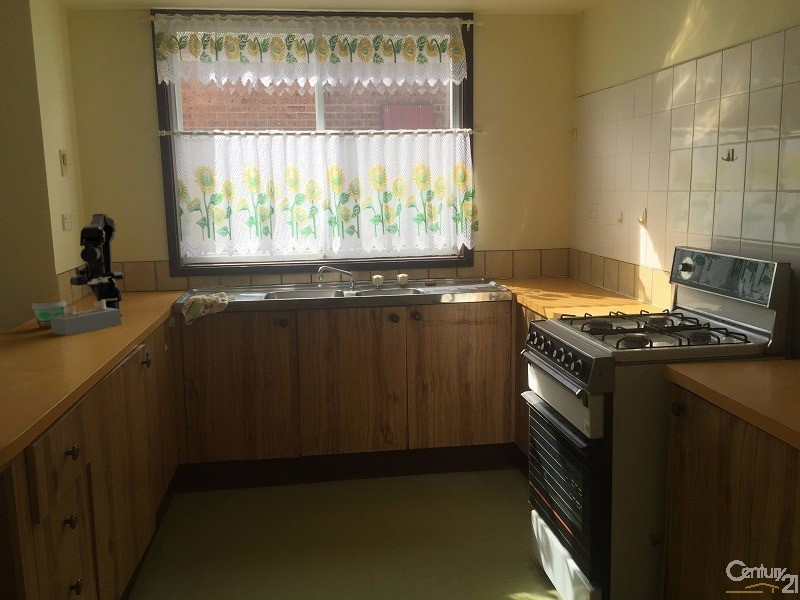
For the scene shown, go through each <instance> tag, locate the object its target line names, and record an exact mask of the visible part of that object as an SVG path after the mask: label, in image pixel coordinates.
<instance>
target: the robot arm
mask: <svg viewBox="0 0 800 600" xmlns="http://www.w3.org/2000/svg"><path fill="white" fill-rule="evenodd" d="M116 232H117V226H116V223H115V220H114V219H113V218H111V217H109V216H108V214H107V213H106V214H105V213H95V214H92V218H91V221H90V223H89V225H84V226H83V227H82V228H81V230H80V236H79V237H80V239H79V240H80V241H79V246H80V247H84V248H83V249H82V250H81V252H80V258H81V260H82V261H83V262H85V263H84V265H85V267H82V266H77V267H75V268H74V270H75V271H74V272H75V276H72V277H71V278H70V279H69V283H70V286H83V285H84V286H85V285H86V286H88V287H90V289H91V290H92V292H93V294H94V296H95V298H96V301H101V300H105V303H106V307H107V308H114V309H120V302H123V297H122V296H123V295H122V292H121V290H120V288H119V286H118V283H117V282H116V281H119V280H124V274H123V272H122V271H113V259H112V257H113V256H112V255H113V254H112V242H113V240H114V239H115V233H116ZM115 280H116V281H115ZM120 315H121V317H122V316H123V314H121V313H120Z"/></svg>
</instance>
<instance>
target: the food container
mask: <svg viewBox="0 0 800 600" xmlns="http://www.w3.org/2000/svg"><path fill="white" fill-rule="evenodd" d="M64 306H68V305H67V301H66V299H64V300H62V301H56V302H55V301H54V302H45V303H34V302H32V304H31V309H33V311H34V316H35V319H36V323H37V328H38V330H52V328H51V319H50V317H53V316H59V315H64V308H63V307H64Z"/></svg>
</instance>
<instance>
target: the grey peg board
mask: <svg viewBox="0 0 800 600" xmlns="http://www.w3.org/2000/svg"><path fill="white" fill-rule="evenodd" d="M120 314H121V309H120V308H119V309H114V308H107V307H106V311H101V312H95V308H93V309H87V310H82V311H76V316H73V317H65V316H64V315H59V316H53V317H50V319H51V328H52V329H51V333H52V334H56V335H61V336H66V337H67V336H71V335H77V334H81V333H87V332H91V331H96V330H102V329H106V328H107V329H108V328H112V327H117V326H121V325H122V316H121V315H120Z"/></svg>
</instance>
